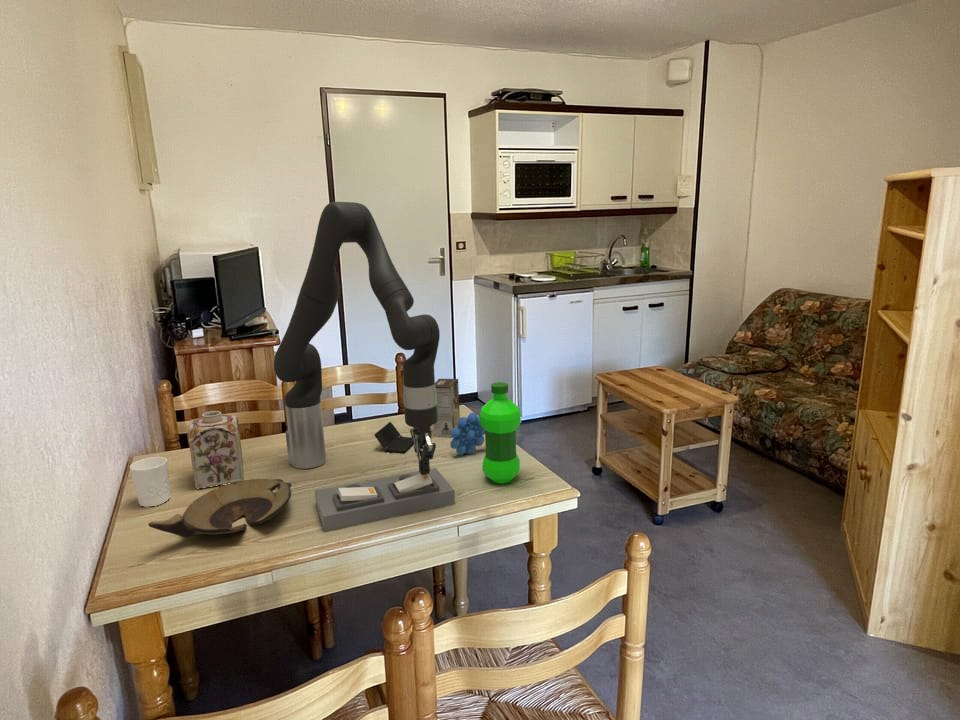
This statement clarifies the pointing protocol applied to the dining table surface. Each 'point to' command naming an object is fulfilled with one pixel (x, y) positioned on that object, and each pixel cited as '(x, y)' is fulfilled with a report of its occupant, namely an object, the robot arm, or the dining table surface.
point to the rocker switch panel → (381, 501)
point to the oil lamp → (229, 508)
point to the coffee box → (447, 407)
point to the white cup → (151, 480)
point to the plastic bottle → (500, 435)
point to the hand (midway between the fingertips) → (424, 473)
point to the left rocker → (357, 493)
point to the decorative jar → (215, 449)
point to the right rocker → (413, 483)
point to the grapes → (467, 434)
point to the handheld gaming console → (393, 440)
